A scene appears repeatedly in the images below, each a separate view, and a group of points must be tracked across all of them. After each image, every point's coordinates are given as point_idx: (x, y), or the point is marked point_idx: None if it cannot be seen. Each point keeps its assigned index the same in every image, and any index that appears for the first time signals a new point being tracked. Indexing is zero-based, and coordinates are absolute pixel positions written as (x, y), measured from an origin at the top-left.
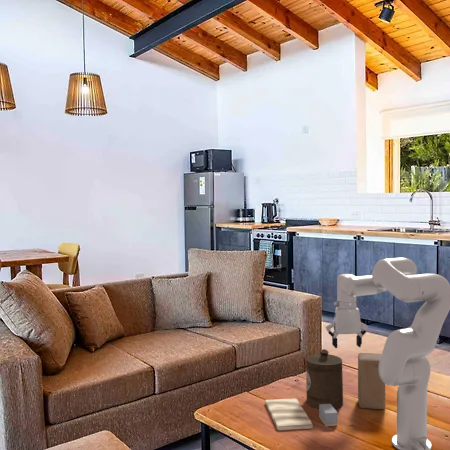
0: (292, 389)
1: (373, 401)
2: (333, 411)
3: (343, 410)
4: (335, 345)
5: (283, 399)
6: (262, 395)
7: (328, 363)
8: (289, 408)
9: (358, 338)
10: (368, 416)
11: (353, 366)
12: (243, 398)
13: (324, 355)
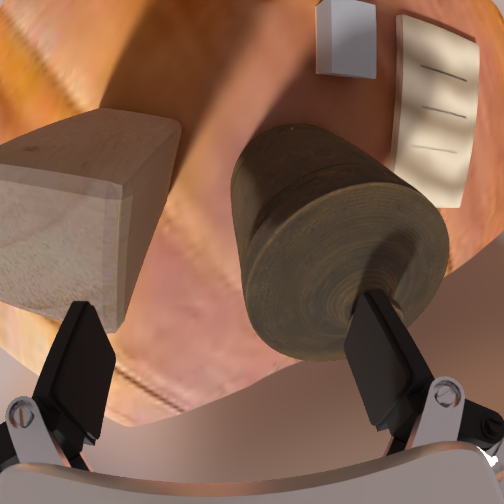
0: None
1: (126, 114)
2: (343, 6)
3: (252, 110)
4: (388, 312)
5: None
6: None
7: (379, 208)
8: (432, 137)
9: (69, 396)
10: (174, 54)
11: (143, 393)
12: (474, 240)
13: None
